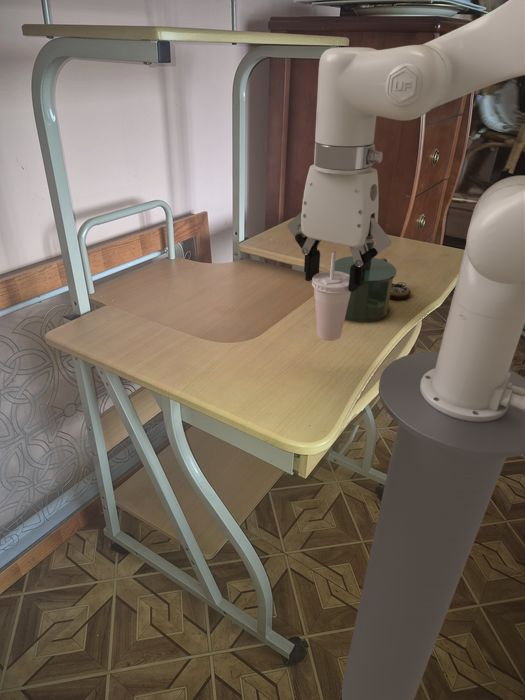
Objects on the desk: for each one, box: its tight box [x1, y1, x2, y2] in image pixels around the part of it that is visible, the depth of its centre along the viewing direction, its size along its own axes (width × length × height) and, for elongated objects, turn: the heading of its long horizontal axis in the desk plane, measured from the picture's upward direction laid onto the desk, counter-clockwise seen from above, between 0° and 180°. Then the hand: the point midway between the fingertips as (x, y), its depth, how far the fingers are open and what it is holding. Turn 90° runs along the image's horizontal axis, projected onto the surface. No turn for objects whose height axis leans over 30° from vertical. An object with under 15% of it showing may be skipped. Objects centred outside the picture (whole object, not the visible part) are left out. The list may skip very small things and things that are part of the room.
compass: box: [380, 258, 412, 300], centre depth 108 cm, size 8×8×7 cm
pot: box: [345, 278, 394, 323], centre depth 100 cm, size 11×11×8 cm
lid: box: [334, 239, 397, 283], centre depth 97 cm, size 12×12×7 cm
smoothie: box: [311, 250, 351, 342], centre depth 76 cm, size 6×6×14 cm
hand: (333, 282), depth 75 cm, fingers closed on smoothie, 6 cm apart
